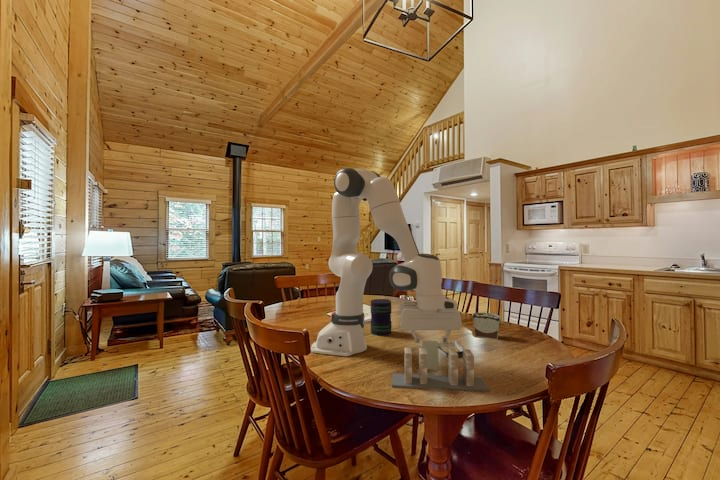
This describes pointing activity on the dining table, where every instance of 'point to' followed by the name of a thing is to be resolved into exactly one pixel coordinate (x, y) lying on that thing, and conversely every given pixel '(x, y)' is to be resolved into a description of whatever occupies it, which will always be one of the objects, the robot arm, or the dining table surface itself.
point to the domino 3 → (453, 366)
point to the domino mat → (438, 383)
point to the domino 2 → (423, 366)
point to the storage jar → (381, 317)
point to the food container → (486, 325)
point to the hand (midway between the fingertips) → (431, 342)
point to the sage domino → (431, 354)
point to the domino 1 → (408, 365)
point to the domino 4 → (468, 367)
